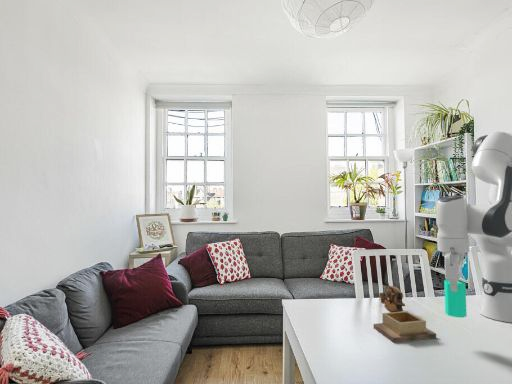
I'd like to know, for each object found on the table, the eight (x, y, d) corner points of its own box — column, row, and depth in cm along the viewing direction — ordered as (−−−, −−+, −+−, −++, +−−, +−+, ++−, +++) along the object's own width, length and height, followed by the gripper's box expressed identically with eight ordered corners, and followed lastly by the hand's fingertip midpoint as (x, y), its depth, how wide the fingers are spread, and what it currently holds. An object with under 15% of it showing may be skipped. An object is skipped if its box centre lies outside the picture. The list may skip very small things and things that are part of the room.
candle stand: (412, 324, 120) (412, 309, 120) (436, 338, 108) (435, 321, 108) (373, 328, 117) (373, 312, 117) (393, 342, 105) (392, 325, 105)
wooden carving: (375, 304, 142) (375, 281, 142) (385, 303, 143) (384, 281, 143) (399, 318, 126) (398, 292, 126) (409, 317, 127) (408, 291, 127)
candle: (469, 318, 100) (468, 279, 100) (448, 316, 102) (447, 279, 102) (462, 311, 106) (461, 274, 106) (442, 310, 108) (441, 274, 108)
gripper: (463, 251, 94) (465, 298, 94) (465, 241, 111) (467, 282, 111) (438, 250, 98) (440, 295, 97) (444, 241, 114) (446, 279, 114)
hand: (454, 288), depth 104 cm, fingers closed on candle, 5 cm apart
